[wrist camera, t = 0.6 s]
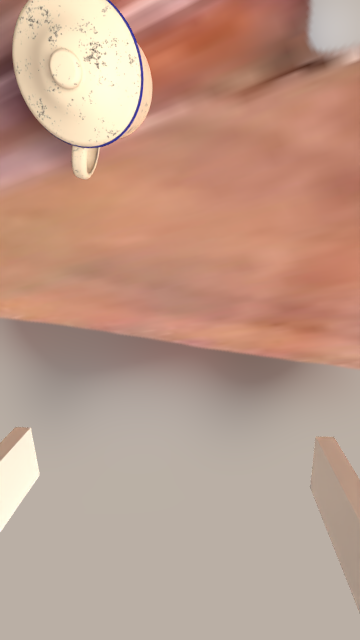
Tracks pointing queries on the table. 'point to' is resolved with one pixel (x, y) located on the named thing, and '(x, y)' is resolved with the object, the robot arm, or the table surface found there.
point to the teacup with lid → (81, 74)
